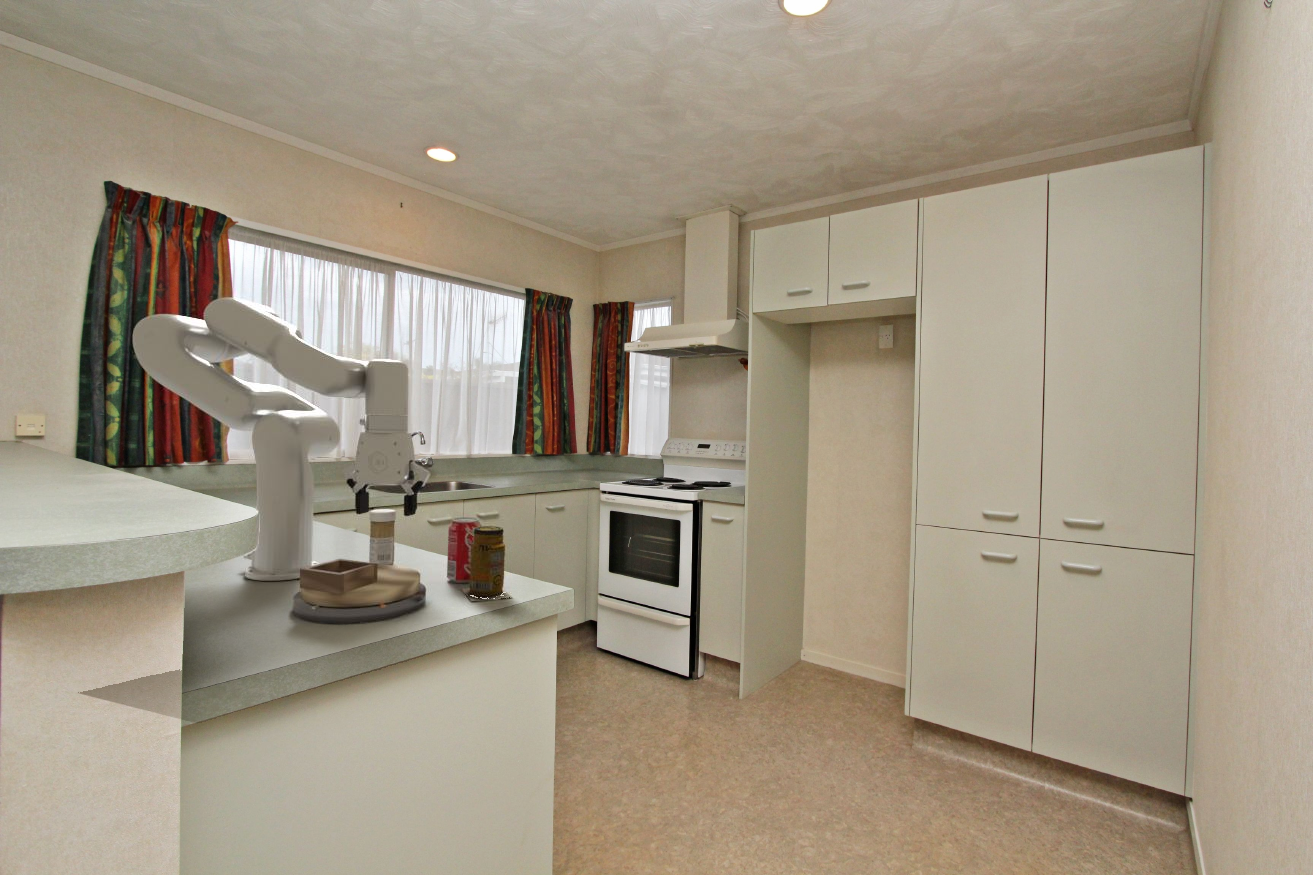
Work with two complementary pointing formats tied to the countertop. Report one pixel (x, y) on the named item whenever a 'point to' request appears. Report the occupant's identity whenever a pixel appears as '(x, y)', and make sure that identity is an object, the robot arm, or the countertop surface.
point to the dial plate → (358, 610)
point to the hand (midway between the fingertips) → (386, 514)
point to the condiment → (487, 564)
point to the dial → (356, 583)
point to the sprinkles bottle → (382, 536)
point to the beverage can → (460, 548)
